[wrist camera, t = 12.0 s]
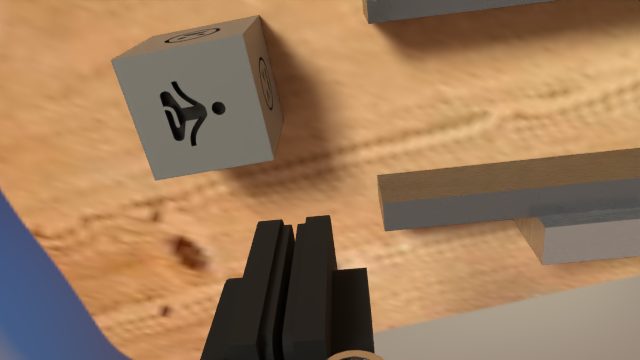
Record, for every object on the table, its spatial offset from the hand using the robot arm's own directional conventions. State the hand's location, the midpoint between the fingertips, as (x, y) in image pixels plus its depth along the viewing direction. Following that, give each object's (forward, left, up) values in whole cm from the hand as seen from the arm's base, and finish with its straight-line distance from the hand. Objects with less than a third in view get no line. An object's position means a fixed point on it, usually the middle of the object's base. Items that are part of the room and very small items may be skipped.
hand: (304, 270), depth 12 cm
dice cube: (+4, -2, -14) cm, 15 cm away
